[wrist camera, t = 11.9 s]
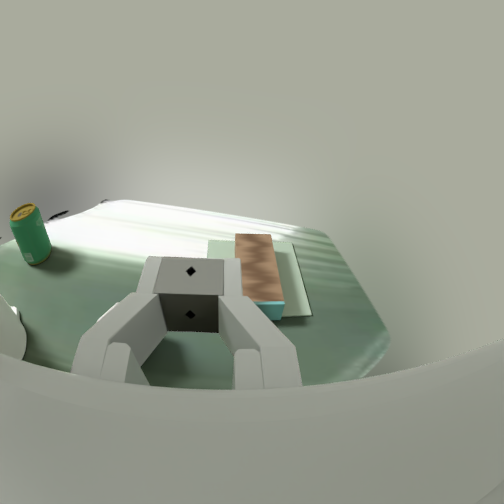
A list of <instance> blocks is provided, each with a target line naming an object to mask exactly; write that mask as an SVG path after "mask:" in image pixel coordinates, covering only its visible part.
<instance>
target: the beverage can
mask: <svg viewBox="0 0 504 504" xmlns="http://www.w3.org/2000/svg"><path fill="white" fill-rule="evenodd" d="M10 226H11V229H12V232H13V234H14V237H15V239H16V242H17V244H18V246H19V249H20V251H21V253H22V255H23V258H24V260H25V261H26V262H28V263H29V264H30V265H36V264H39V263H41V262H43V261H45V260H46V259H47V258H48V257H49V255H50V253H51V243H50V240H49V238H48V235H47V232H46V229H45V226H44V223H43V220H42V218H41V214H40V212H39V209H38V208H37V207H36V206H35V204H34V203H27V204H24V205H22V206H20V207H18V208H17V209H16V210H14V211H13V213H12V214H11V216H10Z"/></svg>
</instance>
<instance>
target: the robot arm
mask: <svg viewBox="0 0 504 504" xmlns="http://www.w3.org/2000/svg"><path fill="white" fill-rule="evenodd" d="M167 331H174V332H204V333H219V335H220V337H221V338H222V340H223V341H224V343H225V344H226V346H227V347H228V349H229V350H230V352H231V353H232V355H233V356H234V366H233V380H232V390H212V389H186V388H170V387H158V386H150V384H149V382H148V381H147V379H146V377H145V375H144V373H143V371H142V369H141V366H142V364H143V363H144V362H145V360H146V359H147V358H148V357H149V355H150V354H151V353H152V352H153V350H154V349H155V348H156V347H157V345H158V344H159V343H160V342H161V340H162V339H163V338H164V337H165V335H166V334H167ZM26 341H27V340H26V332H25V329H24V327H23V325H22V323H21V322H20V316H19V311H18V309H17V308H16V307H10V306H9V305H8V303H7V302H6V301H5V299H4V298H3V297H2V295H1V294H0V504H504V339H501V340H497V341H495V342H493V343H490V344H487V345H485V346H482V347H479V348H477V349H474V350H471V351H468V352H465V353H462V354H459V355H456V356H453V357H450V358H447V359H443V360H440V361H436V362H433V363H430V364H426V365H422V366H418V367H414V368H410V369H406V370H402V371H398V372H393V373H388V374H383V375H378V376H373V377H367V378H362V379H356V380H350V381H343V382H336V383H328V384H320V385H311V386H302V381H301V375H300V369H299V364H298V359H297V353H296V348H295V346H294V345H293V344H292V343H291V342H290V341H289V340H288V339H287V337H286V336H285V335H284V334H283V333H282V332H281V331H280V330H279V329H278V328H277V327H276V326H275V325H274V324H273V323H272V322H271V321H270V320H269V318H268V317H267V316H266V315H265V314H264V313H263V312H262V311H261V310H260V309H259V308H258V307H257V306H256V305H255V303H254V302H253V301H252V300H251V299H250V298H249V297H248V296H243V289H242V273H241V260H240V258H183V257H156V256H149V257H148V258H147V259H146V262H145V265H144V268H143V271H142V274H141V277H140V281H139V284H138V287H137V291H136V293H130V294H129V295H128V296H127V297H126V298H125V299H123V300H122V301H121V302H120V303H119V304H118V305H116V306H115V307H114V308H113V309H112V310H111V311H109V312H108V313H107V314H106V315H105V316H104V317H103V318H101V319H100V320H99V321H98V322H97V323H96V324H95V325H93V326H92V327H91V328H90V329H89V330H88V331H87V332H86V333H84V334H83V335H82V336H81V338H80V341H79V345H78V348H77V351H76V354H75V357H74V361H73V364H72V368H71V371H70V373H68V372H64V371H59V370H55V369H51V368H47V367H43V366H40V365H36V364H33V363H29V362H26V361H23V360H22V358H23V356H24V353H25V349H26Z"/></svg>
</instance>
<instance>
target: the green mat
mask: <svg viewBox="0 0 504 504" xmlns="http://www.w3.org/2000/svg"><path fill="white" fill-rule="evenodd" d="M272 243H273V248H274V253H275V257H276V262H277V267H278V272H279V277H280V282H281V287H282V293H283V298H284V303H285V305H284V309H283V313H282V317H291V316H311V315H312V314H311V311H310V307H309V303H308V299H307V296H306V292H305V288H304V285H303V281H302V277H301V274H300V270H299V267H298V263H297V260H296V256H295V253H294V249H293V246H292V242H272ZM207 258H235V241H219V240H209V241H208V253H207Z"/></svg>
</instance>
